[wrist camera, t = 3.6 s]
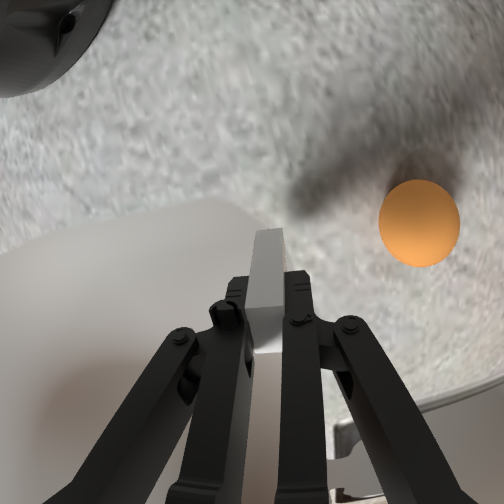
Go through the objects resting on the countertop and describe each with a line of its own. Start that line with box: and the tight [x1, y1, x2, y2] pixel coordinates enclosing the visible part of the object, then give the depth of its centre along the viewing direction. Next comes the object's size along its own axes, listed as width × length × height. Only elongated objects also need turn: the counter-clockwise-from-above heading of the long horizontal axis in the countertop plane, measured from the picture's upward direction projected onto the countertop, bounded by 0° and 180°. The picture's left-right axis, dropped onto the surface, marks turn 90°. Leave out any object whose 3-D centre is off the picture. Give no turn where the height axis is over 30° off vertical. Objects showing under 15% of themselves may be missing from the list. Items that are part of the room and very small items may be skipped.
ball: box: [379, 179, 460, 267], centre depth 17 cm, size 6×6×6 cm
